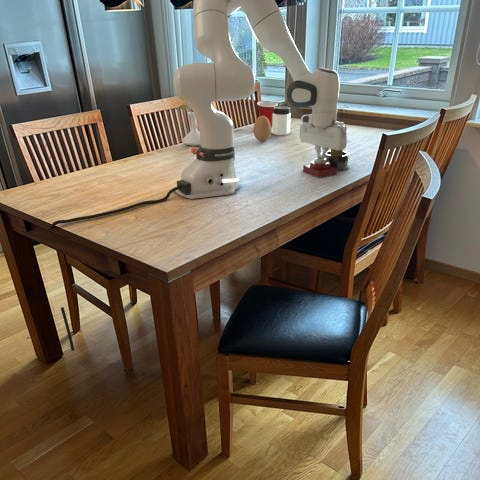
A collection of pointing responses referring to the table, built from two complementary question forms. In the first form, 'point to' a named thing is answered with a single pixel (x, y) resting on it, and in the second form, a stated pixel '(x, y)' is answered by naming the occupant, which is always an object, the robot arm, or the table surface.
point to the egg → (262, 128)
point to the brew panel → (319, 169)
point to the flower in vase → (193, 135)
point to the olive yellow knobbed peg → (336, 152)
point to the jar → (281, 120)
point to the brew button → (319, 161)
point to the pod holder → (338, 161)
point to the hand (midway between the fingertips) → (321, 158)
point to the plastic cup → (267, 109)
